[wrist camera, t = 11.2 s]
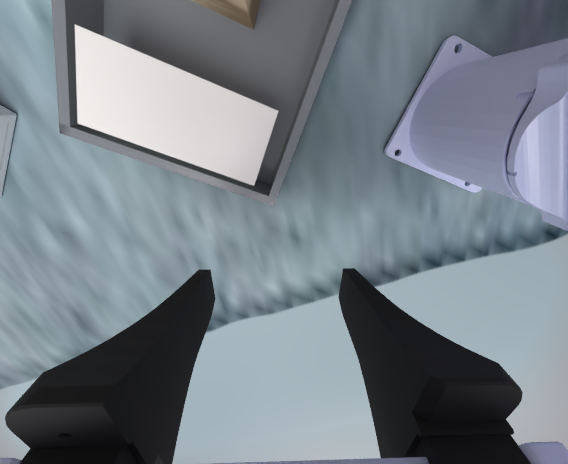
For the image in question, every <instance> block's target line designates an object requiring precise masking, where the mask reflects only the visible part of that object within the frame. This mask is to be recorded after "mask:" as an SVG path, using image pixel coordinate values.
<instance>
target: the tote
mask: <svg viewBox="0 0 568 464" xmlns="http://www.w3.org/2000/svg"><path fill="white" fill-rule="evenodd" d="M351 2H352V0H261V1H260V5H259V9H258V14H257V18H256V22H255V26H254V30H253V29H251V28H248V27H246V26H244V25H242V24H240V23H238V22H236V21H234V20H232V19H229V18H227V17H225V16H223V15H221V14H219V13H217V12H215V11H213V10H210V9H208V8H206V7H204V6H202V5H200V4H198V3H196V2H194V1H191V0H52V16H53V32H54V48H55V64H56V80H57V96H58V112H59V128H60V133H61V134H64V135H67V136H70V137H73V138H76V139H79V140H82V141H84V142H87V143H90V144H93V145H96V146H99V147H102V148H105V149H108V150H111V151H114V152H117V153H120V154H122V155H125V156H128V157H131V158H134V159H137V160H140V161H143V162H146V163H149V164H152V165H155V166H157V167H160V168H163V169H166V170H169V171H172V172H175V173H178V174H181V175H184V176H187V177H190V178H193V179H195V180H198V181H201V182H204V183H207V184H210V185H213V186H216V187H219V188H222V189H225V190H228V191H230V192H233V193H236V194H239V195H242V196H245V197H248V198H251V199H254V200H257V201H260V202H263V203H266V204H268V205H271V206H274V205H275V202H276V199H277V197H278V194H279V192H280V189H281V186H282V184H283V181H284V178H285V176H286V173H287V170H288V168H289V165H290V163H291V160H292V157H293V155H294V152H295V149H296V147H297V144H298V142H299V139H300V136H301V134H302V131H303V128H304V126H305V123H306V121H307V118H308V115H309V113H310V110H311V107H312V105H313V102H314V100H315V97H316V94H317V92H318V89H319V86H320V84H321V81H322V79H323V76H324V73H325V71H326V68H327V65H328V63H329V60H330V57H331V55H332V52H333V50H334V47H335V44H336V42H337V39H338V36H339V34H340V31H341V29H342V26H343V23H344V21H345V18H346V15H347V13H348V10H349V8H350V5H351ZM75 25H78V26H80V27H82V28H85V29H87V30H89V31H92V32H94V33H97V34H99V35H101V36H104V37H106V38H108V39H111V40H113V41H115V42H118V43H120V44H122V45H125V46H127V47H129V48H132V49H134V50H136V51H139V52H141V53H143V54H146V55H148V56H151V57H153V58H155V59H158V60H160V61H162V62H165V63H167V64H169V65H172V66H174V67H176V68H179V69H181V70H183V71H186V72H188V73H190V74H193V75H195V76H197V77H200V78H202V79H205V80H207V81H209V82H212V83H214V84H216V85H219V86H221V87H223V88H226V89H228V90H230V91H233V92H235V93H237V94H240V95H242V96H244V97H247V98H249V99H251V100H254V101H256V102H259V103H261V104H263V105H266V106H268V107H270V108H273V109H275V110H277V111H278V114H277V117H276V120H275V123H274V126H273V130H272V133H271V136H270V139H269V142H268V145H267V148H266V151H265V154H264V157H263V160H262V163H261V167H260V170H259V173H258V176H257V179H256V182H255V185H254V186H253V185H250V184H247V183H244V182H242V181H239V180H236V179H233V178H230V177H227V176H225V175H222V174H219V173H216V172H213V171H211V170H208V169H205V168H202V167H199V166H196V165H194V164H191V163H188V162H185V161H182V160H179V159H177V158H174V157H171V156H168V155H165V154H162V153H160V152H157V151H154V150H151V149H148V148H146V147H143V146H140V145H137V144H134V143H131V142H129V141H126V140H123V139H120V138H117V137H114V136H112V135H109V134H106V133H103V132H100V131H97V130H95V129H92V128H89V127H86V126H83V125H81V124H78V121H77V86H76V52H75Z"/></svg>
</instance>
